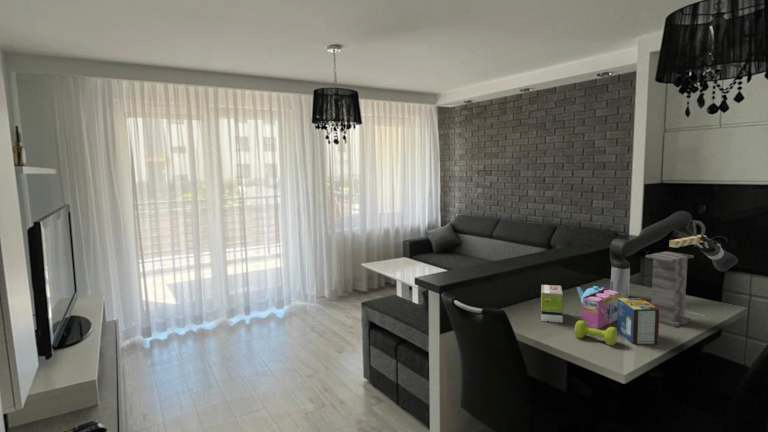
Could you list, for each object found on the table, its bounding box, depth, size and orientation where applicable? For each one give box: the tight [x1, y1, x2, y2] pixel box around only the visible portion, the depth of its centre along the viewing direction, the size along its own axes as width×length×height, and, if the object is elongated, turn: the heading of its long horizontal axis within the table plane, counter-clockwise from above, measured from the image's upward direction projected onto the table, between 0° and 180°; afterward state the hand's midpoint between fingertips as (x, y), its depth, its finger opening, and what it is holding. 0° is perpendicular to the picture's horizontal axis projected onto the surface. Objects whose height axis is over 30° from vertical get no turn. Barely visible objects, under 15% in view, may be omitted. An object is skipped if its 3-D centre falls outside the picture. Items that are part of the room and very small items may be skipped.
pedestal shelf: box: [644, 250, 695, 328], centre depth 204 cm, size 18×14×32 cm
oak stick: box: [668, 234, 708, 248], centre depth 209 cm, size 27×3×3 cm, turn 118°
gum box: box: [581, 288, 621, 330], centre depth 206 cm, size 24×8×14 cm, turn 127°
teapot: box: [576, 285, 605, 305], centre depth 228 cm, size 15×15×11 cm
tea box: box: [540, 284, 564, 323], centre depth 213 cm, size 15×10×15 cm
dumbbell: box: [573, 320, 619, 347], centre depth 184 cm, size 16×8×7 cm, turn 47°
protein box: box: [616, 297, 660, 345], centre depth 185 cm, size 10×15×16 cm
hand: (697, 236), depth 212 cm, fingers closed on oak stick, 3 cm apart
